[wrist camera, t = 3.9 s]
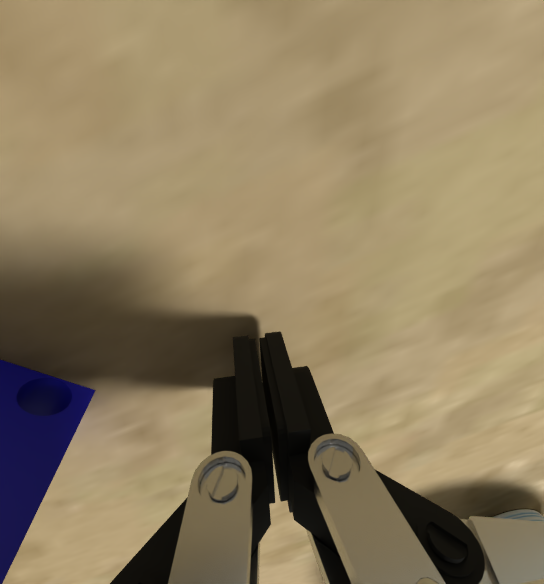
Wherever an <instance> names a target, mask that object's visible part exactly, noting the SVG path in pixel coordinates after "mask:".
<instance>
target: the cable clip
mask: <svg viewBox="0 0 544 584" xmlns="http://www.w3.org/2000/svg"><path fill="white" fill-rule="evenodd" d="M94 392H95V390H93V389H90V388H87V387H84V386H80V385H77V384H74V383H71V382H68V381H65V380H62V379H59V378H56V377H53V376H50V375H47V374H43V373H40V372H37V371H34V370H31V369H28V368H25V367H22V366H19V365H16V364H13V363H9V362H6V361H3V360H0V584H2V583H3V581H4V579H5V576H6V574H7V572H8V570H9V568H10V566H11V564H12V562H13V560H14V558H15V556H16V554H17V552H18V550H19V547H20V545H21V543H22V541H23V539H24V537H25V535H26V533H27V531H28V529H29V527H30V525H31V523H32V521H33V519H34V516H35V514H36V512H37V510H38V508H39V506H40V504H41V502H42V500H43V498H44V496H45V494H46V492H47V490H48V487H49V485H50V483H51V481H52V479H53V477H54V475H55V473H56V471H57V469H58V467H59V465H60V463H61V461H62V458H63V456H64V454H65V452H66V450H67V448H68V446H69V444H70V442H71V440H72V438H73V436H74V434H75V432H76V430H77V427H78V425H79V423H80V421H81V419H82V417H83V415H84V413H85V411H86V409H87V407H88V405H89V403H90V401H91V398H92V396H93V394H94Z"/></svg>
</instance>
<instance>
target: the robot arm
mask: <svg viewBox="0 0 544 584" xmlns="http://www.w3.org/2000/svg"><path fill="white" fill-rule="evenodd" d="M233 349H234V365H235V376H231V377H223V378H216V379H214V380H213V412H212V449H211V455H210V456H208V457H207V458H206V459H205V460H203V461H202V462H201V463H200V465H199V466H198V467H197V469H196V470H195V472H194V475H193V478H192V481H191V485H190V489H189V494H188V497H187V499H186V500H185V501H184V502H183V503H182V504H181V505H180V506H179V507H178V508H177V510H176V511H175V512H174V513H173V514H172V515H171V516H170V517H169V518H168V520H167V521H166V522H165V523H164V524H163V525H162V526H161V527H160V528H159V530H158V531H157V532H156V533H155V534H154V535H153V536H152V537H151V538H150V540H149V541H148V542H147V543H146V544H145V545H144V546H143V547H142V548H141V550H140V551H139V552H138V553H137V554H136V555H135V556H134V557H133V558H132V560H131V561H130V562H129V563H128V564H127V565H126V566H125V567H124V568H123V570H122V571H121V572H120V573H119V574H118V575H117V576H116V577H115V578H114V580H113V581H112V582H111V583H110V584H259V557H260V540H261V539H262V537H263V536H264V534H265V533H266V531H267V529H268V528H269V526H270V525H271V521H270V508H269V504H270V503H275V492H274V474H273V458H274V464H275V470H276V476H277V483H278V489H279V495H280V500H281V501H286V500H288V506H289V511H290V512H293V516H294V520H295V521H296V522H298V523H299V524H300V525H302V526H303V527H304V528H305V529H306V530H307V534H308V538H309V541H310V543H311V546H312V549H313V552H314V555H315V558H316V560H317V563H318V566H319V569H320V572H321V575H322V577H323V580H324V583H325V584H544V522H542V521H530V520H517V519H504V518H491V517H478V516H470V517H469V519H468V520H466V519H459V518H457V517H456V516H454V515H453V514H452V513H450V512H448V511H447V510H445V509H443V508H441V507H440V506H438V505H436V504H434V503H433V502H431V501H429V500H427V499H426V498H424V497H422V496H420V495H419V494H417V493H415V492H413V491H412V490H410V489H408V488H406V487H405V486H403V485H401V484H399V483H398V482H396V481H394V480H392V479H391V478H389V477H387V476H385V475H384V474H382V473H380V472H378V471H377V470H375V469H374V468H373V466H372V465H371V463H370V461H369V460H368V458H367V457H366V455H365V453H364V452H363V450H362V449H361V448H360V447H359V445H358V444H357V443H356V442H354V441H353V440H352V439H350V438H348V437H346V436H343V435H341V434H334V433H333V430H332V427H331V425H330V422H329V419H328V417H327V414H326V412H325V409H324V406H323V404H322V401H321V398H320V396H319V393H318V391H317V388H316V385H315V383H314V380H313V377H312V375H311V372H310V370H309V368H308V367H307V366H304V367H297V368H292V366H291V363H290V360H289V357H288V353H287V350H286V347H285V344H284V340H283V337H282V334H281V332H272V333H265V338H260V354H261V368H262V378H261V372H260V366H259V360H258V354H257V348H256V343H255V339H249V337H248V335H247V336H239V337H233ZM272 452H273V457H272Z"/></svg>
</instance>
